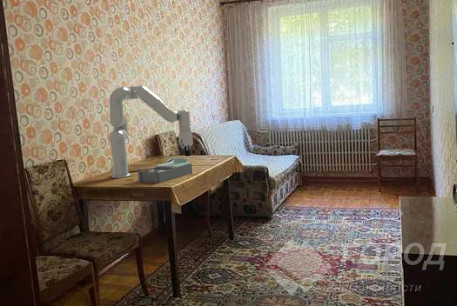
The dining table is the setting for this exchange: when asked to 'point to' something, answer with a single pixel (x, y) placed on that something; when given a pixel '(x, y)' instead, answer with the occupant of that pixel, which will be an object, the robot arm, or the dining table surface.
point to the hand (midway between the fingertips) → (187, 155)
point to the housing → (163, 173)
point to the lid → (175, 163)
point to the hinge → (171, 160)
